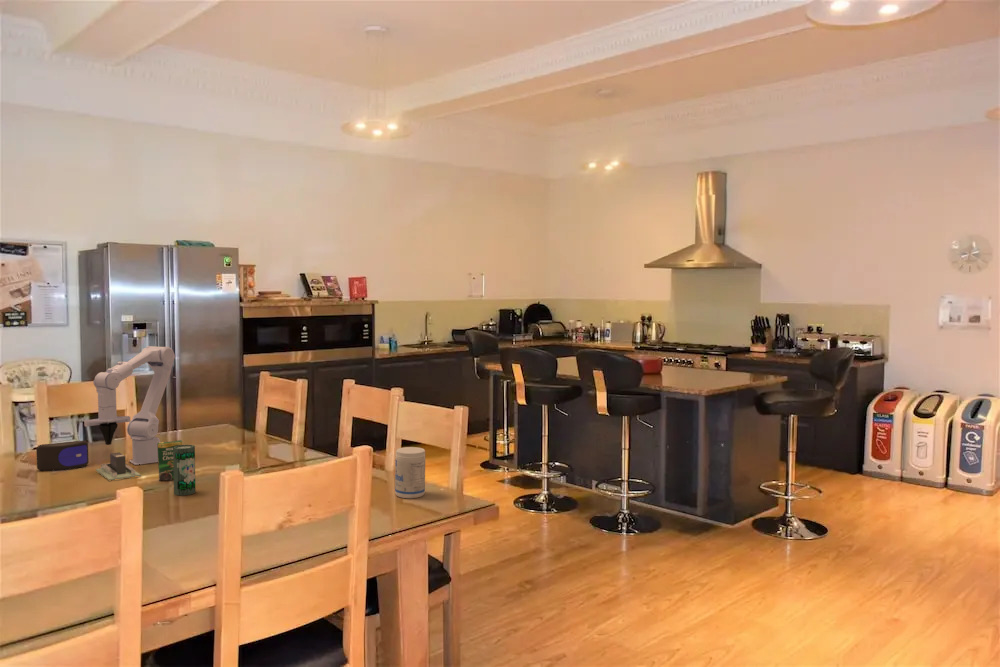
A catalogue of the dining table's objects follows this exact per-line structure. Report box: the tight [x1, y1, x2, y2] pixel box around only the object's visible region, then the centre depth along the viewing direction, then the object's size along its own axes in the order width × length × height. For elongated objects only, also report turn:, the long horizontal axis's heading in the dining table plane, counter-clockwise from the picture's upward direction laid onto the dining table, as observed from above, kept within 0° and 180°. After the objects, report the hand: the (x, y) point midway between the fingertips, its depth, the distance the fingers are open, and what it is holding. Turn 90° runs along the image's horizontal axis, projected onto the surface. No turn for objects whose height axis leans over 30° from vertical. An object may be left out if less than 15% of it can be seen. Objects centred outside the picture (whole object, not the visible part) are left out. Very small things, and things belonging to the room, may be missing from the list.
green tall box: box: [173, 444, 197, 497], centre depth 246 cm, size 6×6×15 cm
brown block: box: [109, 451, 127, 475], centre depth 269 cm, size 3×8×6 cm, turn 40°
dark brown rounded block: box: [35, 440, 89, 472], centre depth 275 cm, size 16×5×9 cm, turn 123°
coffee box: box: [157, 439, 183, 482], centre depth 262 cm, size 8×3×13 cm, turn 115°
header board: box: [95, 462, 142, 481], centre depth 269 cm, size 10×18×2 cm, turn 40°
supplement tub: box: [394, 446, 426, 499], centre depth 246 cm, size 10×10×15 cm
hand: (108, 444), depth 272 cm, fingers closed
